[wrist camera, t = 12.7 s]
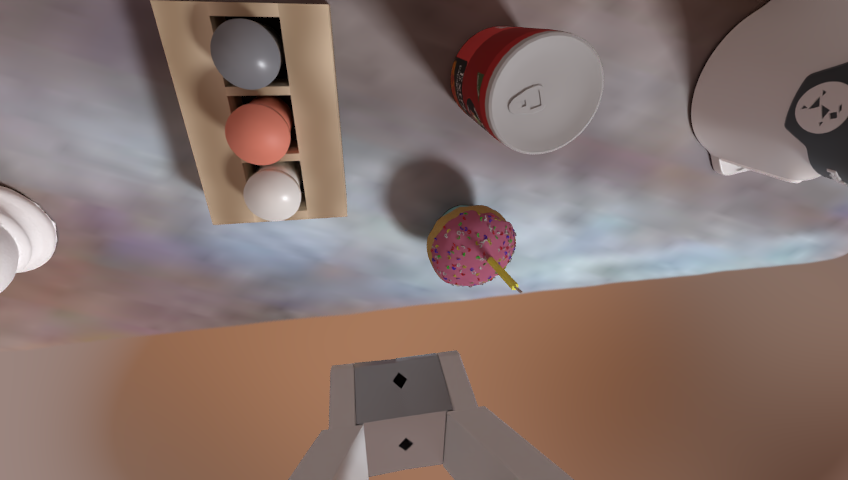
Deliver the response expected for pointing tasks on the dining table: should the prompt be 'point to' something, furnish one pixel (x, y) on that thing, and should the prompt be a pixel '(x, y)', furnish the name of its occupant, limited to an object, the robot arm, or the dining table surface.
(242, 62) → the graphite plug
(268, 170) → the white rounded piece
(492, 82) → the canned food
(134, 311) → the dining table surface
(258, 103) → the red plug
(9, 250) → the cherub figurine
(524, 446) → the robot arm
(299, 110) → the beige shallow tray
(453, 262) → the cupcake
